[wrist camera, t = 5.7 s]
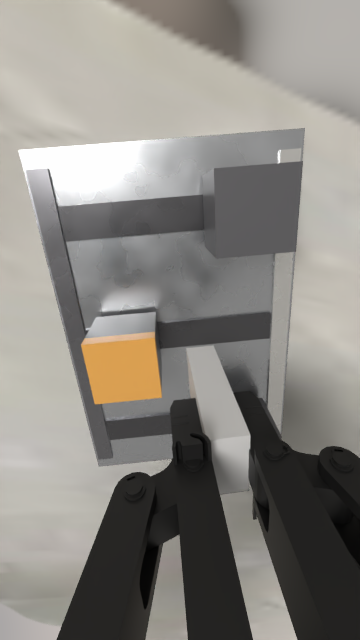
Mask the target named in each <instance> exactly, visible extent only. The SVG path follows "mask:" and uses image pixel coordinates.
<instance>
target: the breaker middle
mask: <svg viewBox="0 0 360 640" xmlns="http://www.w3.org/2000/svg"><path fill="white" fill-rule="evenodd" d="M81 347H82V352H83V356H84V360H85V365H86V369H87V373H88V377H89V382H90V386H91V390H92V394H93V399H94V403H95V404H104V403H114V402H124V401H134V400H144V399H154V398H162V361H161V352H160V344H159V335H158V327H157V318H156V312H148V313H137V314H127V315H116V316H105V317H96V318H95V320H94V322H93V324H92V326H91V328H90V329H89V331H88V333H87V335H86V337H85V338H84V340H83V342H82V344H81Z"/></svg>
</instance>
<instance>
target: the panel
mask: <svg viewBox="0 0 360 640" xmlns="http://www.w3.org/2000/svg"><path fill="white" fill-rule="evenodd" d="M304 132H305V128H301V129H288V130H275V131H262V132H249V133H236V134H223V135H210V136H197V137H184V138H171V139H158V140H145V141H132V142H119V143H106V144H93V145H80V146H67V147H54V148H41V149H28V150H19V154H20V158H21V162H22V166H23V170H24V174H25V178H26V182H27V186H28V190H29V194H30V198H31V202H32V205H33V209H34V213H35V217H36V221H37V225H38V229H39V233H40V237H41V241H42V245H43V249H44V253H45V257H46V261H47V265H48V268H49V272H50V276H51V280H52V284H53V288H54V292H55V296H56V300H57V304H58V308H59V312H60V316H61V320H62V324H63V328H64V331H65V335H66V339H67V343H68V347H69V351H70V355H71V359H72V363H73V367H74V371H75V375H76V379H77V383H78V387H79V391H80V394H81V398H82V402H83V406H84V410H85V414H86V418H87V422H88V426H89V430H90V434H91V438H92V442H93V446H94V450H95V454H96V457H97V461H98V465H99V466H109V465H118V464H127V463H137V462H146V461H156V460H165V459H172V458H173V453H172V444H173V442H172V430H171V417H170V407H171V405H172V403H173V401H174V400H181V399H189V398H191V395H190V390H189V377H188V364H187V351H186V348H193V347H203V346H212V345H214V348H215V350H216V353H217V355H218V358H219V360H220V362H221V365H222V367H223V370H224V372H225V375H226V377H227V379H228V382H229V384H230V387H231V389H232V391H233V393H234V392H243V391H251V392H252V393H253V394H254V395H256V396H257V397H258V398H262V399H263V400H264V402H265V404H266V406H267V408H268V410H269V412H270V414H271V416H272V418H273V420H274V422H275V424H276V426H277V428H278V430H279V432H280V434H281V432H282V419H283V406H284V393H285V380H286V367H287V354H288V341H289V328H290V315H291V302H292V289H293V275H294V262H295V252H288V253H276V254H265V255H254V256H242V257H231V258H220V259H216V258H215V257H214V256H213V255H212V254H211V253H210V252H209V251H208V249H207V248H206V247H205V235H204V211H203V187H202V175H204V174H205V173H207V172H208V171H210V170H212V169H213V168H224V167H236V166H249V165H261V164H274V163H286V162H298V161H302V158H303V145H304ZM148 312H156V318H157V327H158V335H159V344H160V352H161V361H162V398H154V399H144V400H134V401H124V402H114V403H104V404H95V403H94V399H93V394H92V390H91V386H90V382H89V377H88V373H87V369H86V365H85V360H84V356H83V352H82V347H81V344H82V342H83V340H84V338H85V337H86V335H87V333H88V331H89V329H90V328H91V326H92V324H93V322H94V320H95V318H96V317H105V316H116V315H127V314H137V313H148Z"/></svg>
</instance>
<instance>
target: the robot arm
mask: <svg viewBox="0 0 360 640" xmlns="http://www.w3.org/2000/svg"><path fill="white" fill-rule="evenodd" d="M186 351H187V364H188V377H189V390H190V395H191V398H189V399H181V400H174V401H173V403H172V405H171V407H170V417H171V430H172V442H173V444H172V453H173V458H172V461H171V463H170V464H169V466H168V467H167V468H166V469H164V470H163V471H161V472H160V473H158V474H155V475H153V476H151V477H150V476H149V475H148V474H145V473H142V472H135V473H131V474H129V475H126V476H125V477H123V478H122V479H121V480H120V481H119V482H118V484H117V485H116V487H115V489H114V492H113V494H112V497H111V500H110V502H109V505H108V507H107V510H106V513H105V515H104V518H103V520H102V523H101V526H100V528H99V531H98V533H97V536H96V539H95V541H94V544H93V546H92V549H91V552H90V554H89V557H88V559H87V562H86V565H85V567H84V570H83V572H82V575H81V578H80V580H79V583H78V585H77V588H76V591H75V593H74V596H73V598H72V601H71V604H70V606H69V609H68V611H67V614H66V617H65V619H64V622H63V624H62V627H61V630H60V632H59V635H58V638H57V640H145V638H146V632H147V627H148V621H149V616H150V611H151V605H152V600H153V595H154V589H155V584H156V578H157V573H158V568H159V562H160V557H161V552H162V546H163V543H164V542H166V541H168V540H170V539H172V538H174V537H175V536H177V535H179V534H180V546H181V559H182V571H183V583H184V595H185V608H186V620H187V632H188V640H253V638H252V633H251V629H250V625H249V620H248V616H247V611H246V607H245V603H244V598H243V594H242V590H241V585H240V581H239V576H238V572H237V568H236V563H235V559H234V555H233V550H232V546H231V542H230V537H229V533H228V528H227V524H226V520H225V515H224V511H223V507H222V502H221V498H220V494H228V493H235V492H243V491H249V482H250V485H251V487H252V490H253V520H254V519H256V516H257V517H258V520H259V523H260V526H261V529H262V532H263V535H264V538H265V541H266V544H267V547H268V550H269V554H270V557H271V560H272V563H273V566H274V569H275V572H276V575H277V578H278V581H279V584H280V587H281V590H282V593H283V597H284V600H285V603H286V606H287V609H288V612H289V615H290V618H291V621H292V624H293V627H294V630H295V633H296V636H297V639H298V640H360V458H359V457H358V456H357V455H355V454H354V453H352V452H351V451H349V450H347V449H344V448H342V447H336V446H331V447H326V448H324V449H323V450H321V452H320V455H319V456H318V455H311V454H304V453H300V452H297V451H294V450H292V449H291V447H290V446H289V445H288V444H287V443H285V442H283V441H282V440H280V438H279V436H278V435H277V433H276V431H275V429H274V427H273V425H272V423H271V421H270V419H269V418H268V416H267V414H266V412H265V410H264V408H263V407H262V404H261V402H260V400H259V399H258V397H257V396H256V395H254V394H253V393H252V392H251V391H243V392H234V393H233V391H232V389H231V387H230V384H229V382H228V379H227V377H226V375H225V372H224V370H223V367H222V365H221V362H220V360H219V358H218V355H217V353H216V350H215V348H214V345H212V346H203V347H193V348H186Z"/></svg>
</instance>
